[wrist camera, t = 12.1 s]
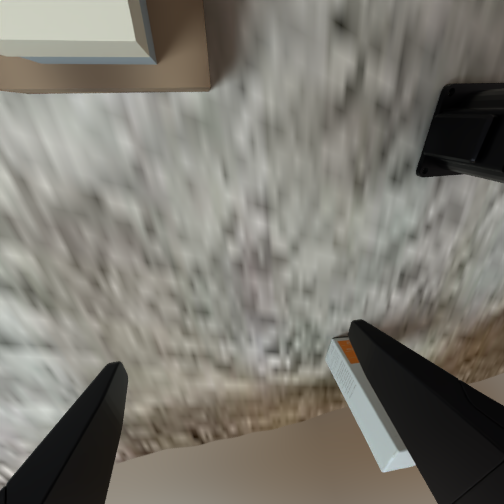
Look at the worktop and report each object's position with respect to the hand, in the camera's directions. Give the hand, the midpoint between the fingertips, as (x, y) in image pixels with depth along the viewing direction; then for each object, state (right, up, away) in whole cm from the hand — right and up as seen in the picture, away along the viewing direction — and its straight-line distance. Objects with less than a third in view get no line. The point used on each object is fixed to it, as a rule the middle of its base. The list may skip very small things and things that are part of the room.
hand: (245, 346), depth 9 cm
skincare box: (+13, -9, +22) cm, 27 cm away
